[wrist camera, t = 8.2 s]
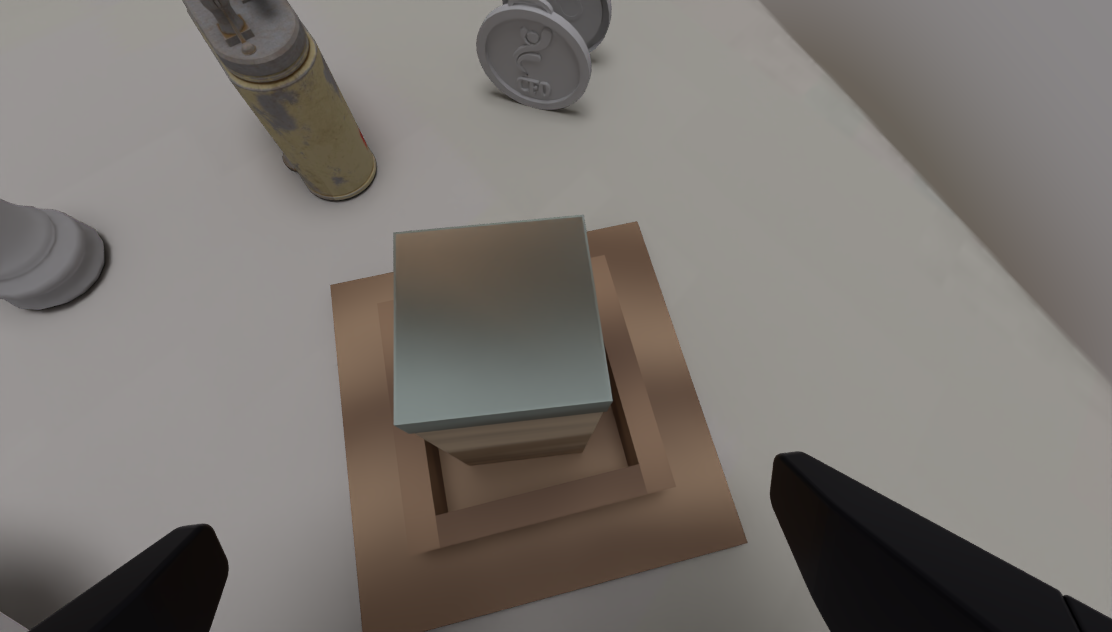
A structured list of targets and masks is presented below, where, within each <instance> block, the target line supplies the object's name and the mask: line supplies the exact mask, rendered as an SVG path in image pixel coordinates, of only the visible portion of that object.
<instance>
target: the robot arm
mask: <svg viewBox="0 0 1112 632" xmlns="http://www.w3.org/2000/svg"><path fill="white" fill-rule="evenodd" d="M770 499H771V504H772V507H773V510H774V512H775V514H776V517H777V519H778V521H779V524H780V526H781V528H782V530H783V533H784V535H785V537H786V540H787V542H788V544H789V547H790V549H791V551H792V553H793V556H794V558H795V560H796V563H797V565H798V567H799V570H800V572H801V574H802V577H803V579H804V581H805V583H806V586H807V588H808V590H809V592H810V594H811V596H812V598H813V600H814V602H815V604H816V606H817V608H818V610H819V612H820V614H821V615H822V617H823V619H824V621H825V623H826V624H827V626H828V628H829V630H830V632H1112V619H1111V618H1109V617H1108V616H1106V615H1104V614H1102V613H1100V612H1098V611H1096V610H1095V609H1093V608H1091V607H1089V606H1087V605H1085V604H1083V603H1082V602H1080V601H1078V600H1076V599H1074V598H1072V597H1071V596H1068V595H1064V596H1062V594H1061V592H1060V591H1059V590H1057V589H1055V588H1054V587H1052V586H1050V585H1048V584H1046V583H1044V582H1042V581H1041V580H1039V579H1037V578H1035V577H1033V576H1031V575H1030V574H1028V573H1026V572H1024V571H1022V570H1020V569H1018V568H1017V567H1015V566H1013V565H1011V564H1009V563H1007V562H1006V561H1004V560H1002V559H1000V558H998V557H996V556H994V555H993V554H991V553H989V552H987V551H985V550H983V549H981V548H980V547H978V546H976V545H974V544H972V543H970V542H969V541H967V540H965V539H963V538H961V537H959V536H957V535H956V534H954V533H952V532H950V531H948V530H946V529H945V528H943V527H941V526H939V525H937V524H935V523H933V522H932V521H930V520H928V519H926V518H924V517H922V516H920V515H919V514H917V513H915V512H913V511H911V510H909V509H908V508H906V507H904V506H902V505H900V504H898V503H896V502H895V501H893V500H891V499H889V498H887V497H885V496H884V495H882V494H880V493H878V492H876V491H874V490H872V489H871V488H869V487H867V486H865V485H863V484H861V483H860V482H858V481H856V480H854V479H852V478H850V477H848V476H847V475H845V474H843V473H841V472H839V471H837V470H835V469H834V468H832V467H830V466H828V465H826V464H824V463H823V462H821V461H819V460H817V459H815V458H813V457H811V456H810V455H808V454H806V453H804V452H799V451H797V452H788V453H780V454H778V455H776V457H775V458H774V462H773V470H772V478H771V487H770ZM228 571H229V566H228V560H227V557H226V555H225V553H224V551H223V549H222V547H221V544H220V542H219V540H218V538H217V536H216V534H215V531H214V529H213V528H212V527H211V526H210V525H208V524H196V525H187V526H182V527H178V528H176V529H175V530H173V531H172V532H170V533H169V534H167V535H166V536H164V537H163V538H162V539H160V540H159V541H157V542H156V543H154V544H153V545H151V546H150V547H149V548H147V549H146V550H144V551H143V552H141V553H140V554H139V555H137V556H136V557H134V558H133V559H131V560H130V561H129V562H127V563H126V564H124V565H123V566H121V567H120V568H118V569H117V570H116V571H114V572H113V573H111V574H110V575H108V576H107V577H106V578H104V579H103V580H101V581H100V582H98V583H97V584H96V585H94V586H93V587H91V588H90V589H88V590H87V591H85V592H84V593H83V594H81V595H80V596H78V597H77V598H75V599H74V600H73V601H71V602H70V603H68V604H67V605H65V606H64V607H63V608H61V609H60V610H58V611H57V612H55V613H54V614H52V615H51V616H50V617H48V618H47V619H45V620H44V621H42V622H41V623H40V624H38V625H37V626H35V627H34V628H32V629H31V630H30V631H28V632H209V631H210V628H211V625H212V622H213V619H214V616H215V613H216V610H217V607H218V604H219V601H220V598H221V595H222V592H223V589H224V586H225V583H226V580H227V577H228Z"/></svg>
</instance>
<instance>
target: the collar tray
mask: <svg viewBox="0 0 1112 632" xmlns="http://www.w3.org/2000/svg"><path fill="white" fill-rule="evenodd" d="M587 238H588V245H589V251H590V258H591V264H592V271H593V277H594V283H595V290H596V296H597V303H598V309H599V316H600V322H601V329H602V335H603V342H604V348H605V354H606V361H607V367H608V374H609V380H610V387H611V393H612V400H613V401H612V403H611V405H610V407H609V408H608V410H607V412H603V413H602V415H601V417H600V419H599V421H598V423H597V425H596V427H595V429H594V431H593V433H592V435H591V437H590V439H589V441H588V443H587V445H586V447H585V449H584V451H583V453H575V454H566V455H558V456H549V457H540V458H532V459H523V460H515V461H506V462H498V463H489V464H481V465H472V466H469V465H467V464H465V463H464V462H462V461H460V460H459V459H457V458H455V457H453V456H452V455H450V454H448V453H447V452H445V451H443V450H442V449H440V448H438V447H437V446H435V445H433V444H431V443H430V442H428V441H426V440H425V439H423V438H421V437H420V436H418V435H416V434H415V433H413V434H408V433H406V432H405V431H403V430H401V429H399V428H397V427H396V426H394V272H391V273H386V274H381V275H377V276H372V277H367V278H362V279H357V280H353V281H348V282H343V283H338V284H333V285H330V286H331V297H332V308H333V319H334V329H335V340H336V351H337V362H338V372H339V383H340V394H341V405H342V416H343V426H344V437H345V448H346V459H347V469H348V480H349V491H350V502H351V512H352V523H353V534H354V545H355V555H356V566H357V577H358V588H359V599H360V609H361V620H362V631H363V632H424V631H428V630H431V629H435V628H439V627H442V626H446V625H450V624H453V623H457V622H460V621H464V620H468V619H471V618H475V617H479V616H482V615H486V614H490V613H493V612H497V611H501V610H504V609H508V608H512V607H515V606H519V605H523V604H526V603H530V602H533V601H537V600H541V599H544V598H548V597H552V596H555V595H559V594H563V593H566V592H570V591H574V590H577V589H581V588H585V587H588V586H592V585H596V584H599V583H603V582H607V581H610V580H614V579H617V578H621V577H625V576H628V575H632V574H636V573H639V572H643V571H647V570H650V569H654V568H658V567H661V566H665V565H669V564H672V563H676V562H680V561H683V560H687V559H691V558H694V557H698V556H701V555H705V554H709V553H712V552H716V551H720V550H723V549H727V548H731V547H734V546H738V545H742V544H745V543H747V540H746V537H745V534H744V531H743V528H742V525H741V522H740V519H739V516H738V513H737V511H736V508H735V505H734V502H733V499H732V496H731V493H730V490H729V487H728V484H727V481H726V479H725V476H724V473H723V470H722V467H721V464H720V461H719V458H718V455H717V452H716V449H715V446H714V444H713V441H712V438H711V435H710V432H709V429H708V426H707V423H706V420H705V417H704V414H703V412H702V409H701V406H700V403H699V400H698V397H697V394H696V391H695V388H694V385H693V382H692V379H691V377H690V374H689V371H688V368H687V365H686V362H685V359H684V356H683V353H682V350H681V347H680V345H679V342H678V339H677V336H676V333H675V330H674V327H673V324H672V321H671V318H670V315H669V312H668V310H667V307H666V304H665V301H664V298H663V295H662V292H661V289H660V286H659V283H658V280H657V278H656V275H655V272H654V269H653V266H652V263H651V260H650V257H649V254H648V251H647V248H646V245H645V243H644V240H643V237H642V234H641V231H640V228H639V225H638V222H637V221H636V222H632V223H627V224H622V225H617V226H612V227H608V228H603V229H598V230H593V231H588V232H587Z"/></svg>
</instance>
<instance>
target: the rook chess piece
mask: <svg viewBox="0 0 1112 632" xmlns="http://www.w3.org/2000/svg"><path fill="white" fill-rule="evenodd" d="M103 266H104V245H103V241H102V240H101V238H100V236H99V235H98V233H97V231H96V230H95V229H94V228H92V227H90V226H88V225H86V224H84V223H83V222H80V221H78V220H76V219H75V218H73V217H71V216H69V215H67V214H65V213H63V212H60V211H57V210H53V209H39V208H35V207H33V206H20V205H15V204H12V203H9V202H7V201H4V200H2V199H0V299H4V300H6V301H8V302H9V303H11V304H13V305H14V306H16V307H18V308H22V309H35V310H40V309H45V308H49V307H53V306H57V305H60V304H64V303H68V302H70V301H72V300H74V299H75V298H77V297H79V296H80V295H82V294H83V293H85V292H86V291H87V290H88V289H89V288H90V287H91V286H92V285H93V284H94V283H95V281H96V280H97V279H98V277H99V275H100V273H101V271H102V268H103Z"/></svg>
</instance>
